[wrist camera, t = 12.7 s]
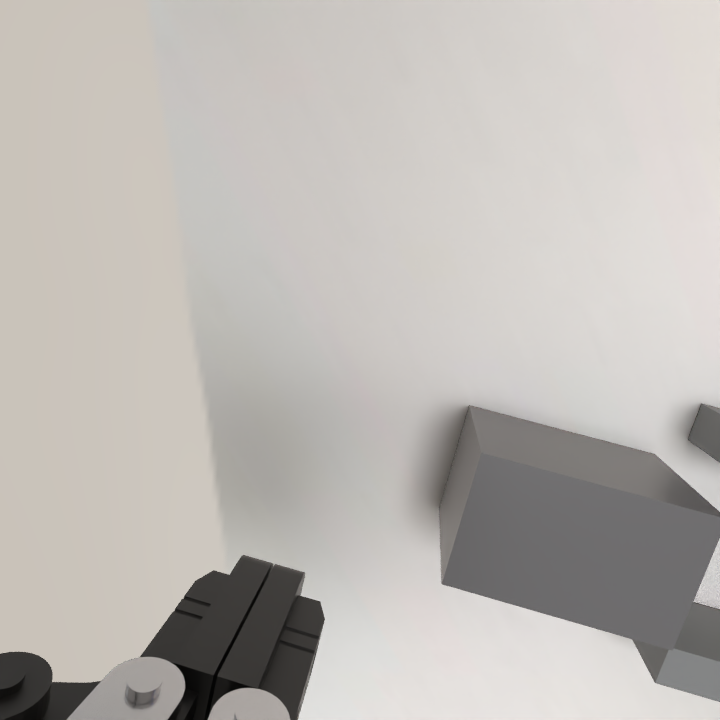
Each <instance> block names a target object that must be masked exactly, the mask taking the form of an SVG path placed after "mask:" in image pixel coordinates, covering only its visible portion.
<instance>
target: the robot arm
mask: <svg viewBox="0 0 720 720" xmlns="http://www.w3.org/2000/svg"><path fill="white" fill-rule="evenodd" d="M304 578H305V573H304V572H301V571H297V570H294V569H290V568H287V567H283V566H280V565H277V564H275V565H274V566H273V563H269V562H266V561H262V560H259V559H255V558H252V557H249V556H245V555H243V556H242V557H241V558H240V560H239V561H238V563H237V564H236V566H235V567H234V569H233V571H232V572H231V574H230V575H227V574H224V573H221V572H217V571H212V572H210V573H209V574H207V575H205V576H203V577H202V578H200V579H198V580H197V581H195V583H194V584H193V585H192V587H191V588H190V589H189V591H188V592H187V593H186V595H185V596H184V599H182V600H181V602H180V603H179V604H178V606H177V607H176V609H175V611H174V612H173V613H172V614H171V615H170V617H169V618H168V620H167V621H166V622H165V624H164V625H163V626H162V628H161V629H160V630H159V632H158V633H157V634H156V636H155V637H154V639H153V640H152V641H151V643H150V644H149V645H148V647H147V648H146V650H145V651H144V652H143V654H142V655H141V656H140V657H139V658H134V659H131V660H128V661H125V662H123V663H121V664H119V665H118V666H116V667H115V668H114V669H112V670H111V671H110V672H109V673H108V674H107V675H106V676H105V678H104V679H103V680H102V681H99V682H92V683H66V682H65V683H63V682H52V670H51V667H50V665H49V664H48V662H46V661H45V660H44V659H43V658H41V657H40V656H38V655H35V654H32V653H26V652H8V653H2V654H0V720H298V717H299V713H300V710H301V707H302V703H303V700H304V696H305V693H306V689H307V686H308V683H309V679H310V676H311V672H312V668H313V664H314V660H315V656H316V652H317V648H318V644H319V640H320V636H321V632H322V628H323V624H324V620H325V618H324V615H323V611H322V607H321V603H320V602H319V601H316V600H313V599H309V598H306V597H302V596H300V595H301V591H302V586H303V582H304Z"/></svg>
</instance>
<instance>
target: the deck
mask: <svg viewBox="0 0 720 720" xmlns="http://www.w3.org/2000/svg"><path fill="white" fill-rule="evenodd" d="M688 440H689V441H690V442H692V443H693V444H695V445H696V446H697V447H699V448H700V449H702V450H703V451H704V452H706V453H707V454H709V455H710V456H711V457H713V458H714V459H715V460H717V461H718V462H720V408H716V407H712V406H709V405H705V404H701V407H700V409H699V412H698V415H697V417H696V420H695V422H694V425H693V428H692V430H691V433H690V435H689V438H688ZM632 640H633V642H634V643H635V645H636V647H637V649H638V651H639V653H640V655H641V657H642V659H643V661H644V663H645V664H646V666H647V668H648V670H649V672H650V674H651V676H652V678H653V680H654V682H655V683H657V684H661V685H664V686H667V687H671V688H674V689H678V690H681V691H684V692H688V693H691V694H695V695H698V696H702V697H705V698H708V699H712V700H715V701H719V702H720V610H719V609H715V608H711V607H708V606H704V605H701V604H697V603H694V602H693V603H692V605H691V608H690V610H689V613H688V615H687V617H686V620H685V622H684V625H683V627H682V629H681V632H680V634H679V637H678V639H677V641H676V644H675V646H674V649H673V651H672V650H668V649H665V648H661V647H658V646H655V645H651V644H648V643H644V642H641V641H637V640H634V639H632Z"/></svg>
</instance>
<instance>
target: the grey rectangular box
mask: <svg viewBox="0 0 720 720" xmlns="http://www.w3.org/2000/svg"><path fill="white" fill-rule="evenodd" d="M439 519H440V550H441V581H442V584H443V585H447V586H450V587H454V588H457V589H461V590H464V591H468V592H471V593H475V594H478V595H482V596H485V597H488V598H492V599H495V600H499V601H502V602H506V603H509V604H513V605H516V606H520V607H523V608H526V609H530V610H533V611H537V612H540V613H544V614H547V615H551V616H554V617H558V618H561V619H565V620H568V621H571V622H575V623H578V624H582V625H585V626H589V627H592V628H596V629H599V630H603V631H606V632H610V633H613V634H616V635H620V636H623V637H627V638H630V639H634V640H637V641H641V642H644V643H648V644H651V645H655V646H658V647H661V648H665V649H668V650H672V651H673V649H674V646H675V644H676V641H677V639H678V637H679V634H680V632H681V629H682V627H683V625H684V622H685V620H686V617H687V615H688V613H689V610H690V608H691V605H692V603H693V601H694V598H695V596H696V593H697V591H698V589H699V586H700V584H701V581H702V579H703V577H704V574H705V572H706V569H707V567H708V565H709V562H710V560H711V557H712V555H713V553H714V550H715V548H716V545H717V543H718V541H719V538H720V512H719V511H718V510H717V509H716V508H714V507H713V506H712V505H711V504H710V503H709V502H708V501H707V500H706V499H704V498H703V497H702V496H701V495H700V494H699V493H698V492H697V491H695V490H694V489H693V488H692V487H691V486H690V485H689V484H688V483H687V482H685V481H684V480H683V479H682V478H681V477H680V476H679V475H678V474H676V473H675V472H674V471H673V470H672V469H671V468H670V467H669V466H668V465H666V464H665V463H664V462H663V461H662V460H661V459H660V458H659V457H657V456H656V455H655V454H652V453H648V452H645V451H641V450H637V449H633V448H629V447H626V446H622V445H618V444H614V443H610V442H607V441H603V440H599V439H595V438H592V437H588V436H584V435H580V434H576V433H573V432H569V431H565V430H561V429H557V428H554V427H550V426H546V425H542V424H538V423H535V422H531V421H527V420H523V419H519V418H516V417H512V416H508V415H504V414H500V413H497V412H493V411H489V410H485V409H481V408H478V407H474V406H470V405H469V408H468V411H467V415H466V418H465V422H464V425H463V429H462V432H461V435H460V439H459V442H458V446H457V449H456V453H455V456H454V459H453V463H452V466H451V470H450V473H449V476H448V480H447V483H446V487H445V490H444V494H443V497H442V500H441V504H440V507H439Z"/></svg>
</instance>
